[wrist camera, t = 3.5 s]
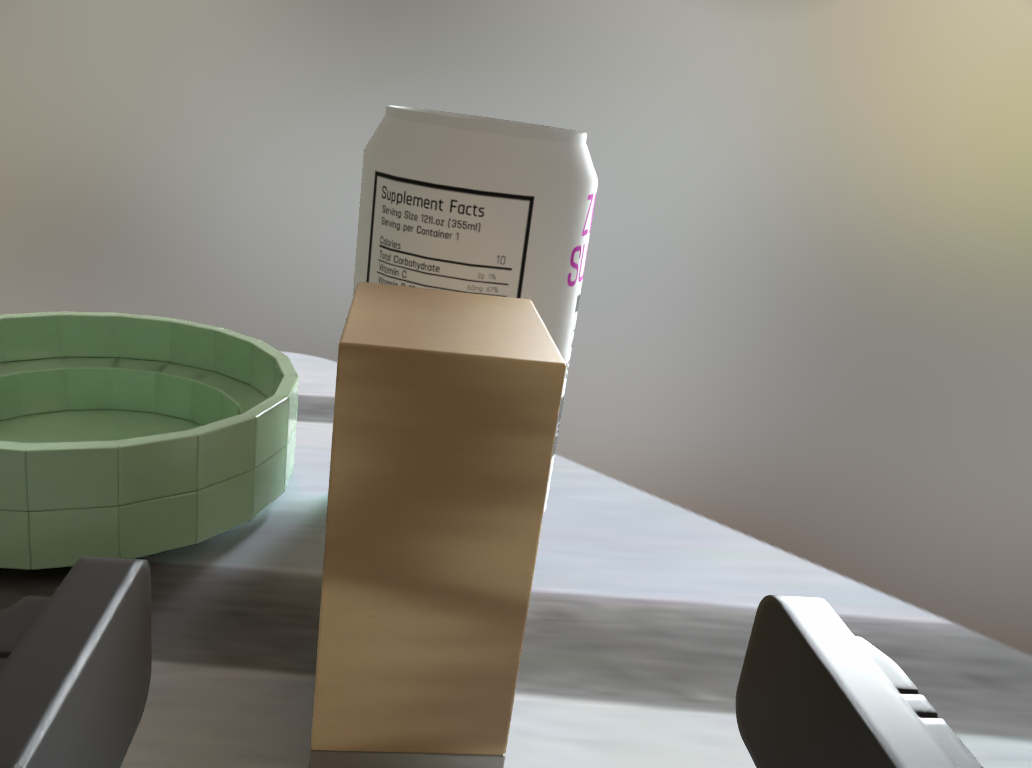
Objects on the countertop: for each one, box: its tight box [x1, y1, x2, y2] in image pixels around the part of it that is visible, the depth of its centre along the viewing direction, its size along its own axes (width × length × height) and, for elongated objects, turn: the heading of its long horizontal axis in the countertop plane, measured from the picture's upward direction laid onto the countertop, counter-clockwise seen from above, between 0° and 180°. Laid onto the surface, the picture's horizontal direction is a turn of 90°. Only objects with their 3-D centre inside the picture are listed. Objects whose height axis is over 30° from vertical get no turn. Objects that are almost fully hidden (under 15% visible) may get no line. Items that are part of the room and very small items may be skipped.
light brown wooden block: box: [309, 282, 566, 768], centre depth 21 cm, size 4×6×11 cm
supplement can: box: [353, 105, 598, 513], centre depth 32 cm, size 8×8×15 cm
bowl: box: [0, 312, 299, 570], centre depth 32 cm, size 15×15×4 cm
